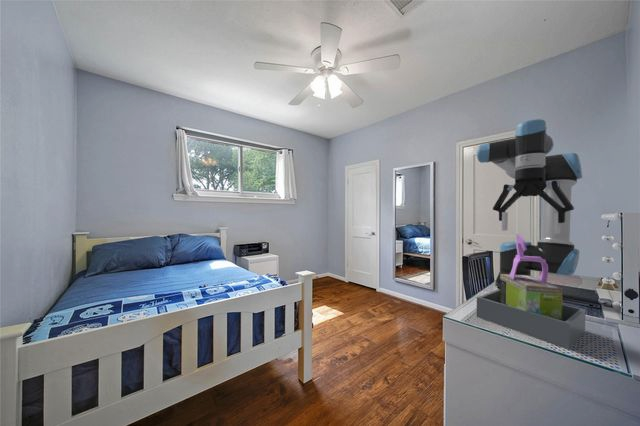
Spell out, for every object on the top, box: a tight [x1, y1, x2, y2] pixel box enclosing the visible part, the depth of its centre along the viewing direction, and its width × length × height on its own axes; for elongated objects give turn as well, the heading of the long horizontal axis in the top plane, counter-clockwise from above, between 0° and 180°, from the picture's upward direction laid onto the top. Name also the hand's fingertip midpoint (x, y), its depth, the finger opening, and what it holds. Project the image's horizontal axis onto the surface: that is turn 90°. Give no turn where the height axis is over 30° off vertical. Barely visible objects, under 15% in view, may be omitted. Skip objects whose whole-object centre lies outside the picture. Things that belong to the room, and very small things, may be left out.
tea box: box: [500, 274, 563, 320], centre depth 78 cm, size 15×10×15 cm
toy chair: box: [510, 233, 549, 283], centre depth 79 cm, size 8×9×15 cm
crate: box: [476, 288, 586, 350], centre depth 78 cm, size 18×23×7 cm
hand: (528, 232), depth 78 cm, fingers open, 13 cm apart
